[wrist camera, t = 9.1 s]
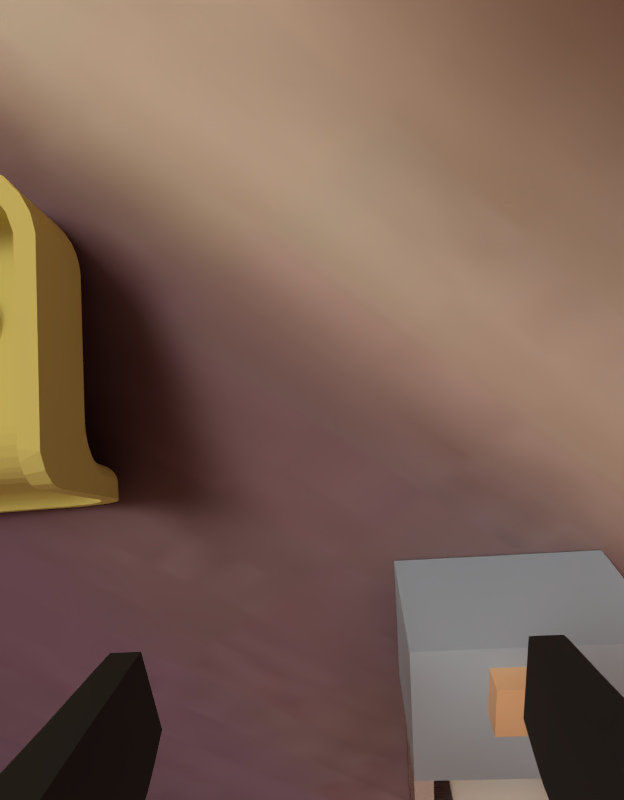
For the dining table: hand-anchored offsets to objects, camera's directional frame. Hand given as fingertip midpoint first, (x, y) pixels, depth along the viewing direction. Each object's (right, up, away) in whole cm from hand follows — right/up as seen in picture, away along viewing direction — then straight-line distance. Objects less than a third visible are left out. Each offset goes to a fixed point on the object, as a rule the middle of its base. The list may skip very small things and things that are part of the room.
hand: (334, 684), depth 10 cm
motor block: (+7, -4, +12) cm, 14 cm away
